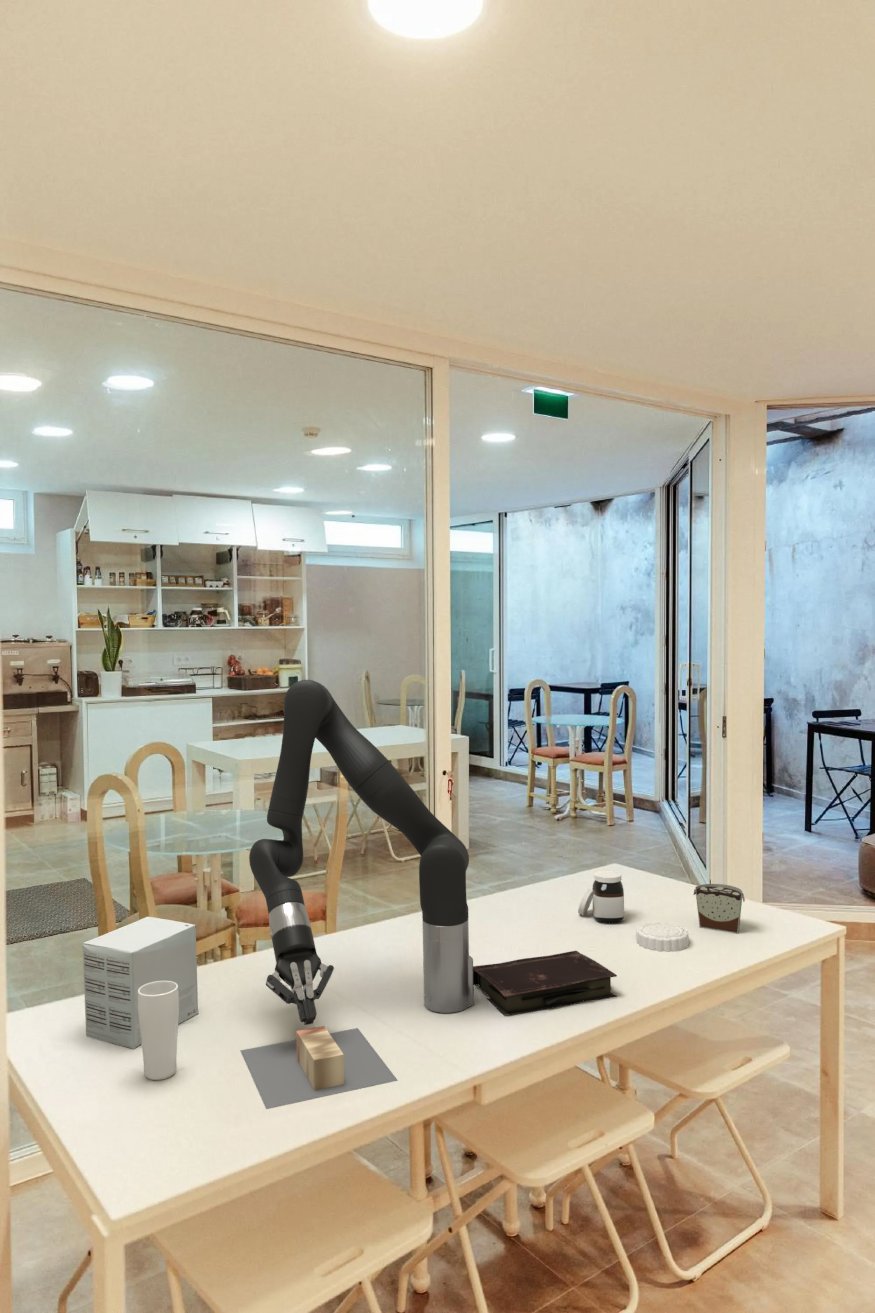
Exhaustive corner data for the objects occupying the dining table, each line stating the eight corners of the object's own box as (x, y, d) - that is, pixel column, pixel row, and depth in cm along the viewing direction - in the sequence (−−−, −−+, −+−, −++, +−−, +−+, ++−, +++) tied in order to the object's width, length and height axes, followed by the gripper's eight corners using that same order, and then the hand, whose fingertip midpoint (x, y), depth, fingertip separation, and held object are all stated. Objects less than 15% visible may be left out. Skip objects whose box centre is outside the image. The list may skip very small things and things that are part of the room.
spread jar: (627, 925, 232) (626, 879, 232) (581, 926, 232) (581, 880, 232) (618, 910, 244) (617, 866, 244) (575, 911, 244) (574, 867, 244)
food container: (750, 927, 229) (750, 887, 228) (744, 934, 223) (744, 893, 223) (700, 919, 235) (700, 880, 235) (693, 926, 230) (693, 886, 230)
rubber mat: (357, 1030, 175) (357, 1028, 175) (397, 1083, 154) (397, 1080, 154) (240, 1053, 166) (240, 1050, 166) (266, 1112, 146) (266, 1109, 146)
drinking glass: (158, 1087, 154) (155, 998, 154) (131, 1077, 158) (128, 991, 157) (189, 1070, 160) (186, 984, 160) (162, 1061, 164) (159, 977, 163)
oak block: (324, 1026, 164) (343, 1054, 153) (324, 1053, 164) (344, 1084, 153) (296, 1031, 162) (314, 1060, 151) (297, 1059, 162) (314, 1090, 151)
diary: (470, 987, 196) (469, 964, 196) (575, 970, 205) (574, 948, 205) (506, 1021, 179) (506, 995, 179) (619, 1000, 187) (619, 976, 187)
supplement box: (150, 1002, 190) (147, 915, 189) (200, 1014, 183) (197, 924, 183) (82, 1036, 174) (79, 941, 174) (134, 1050, 168) (131, 952, 168)
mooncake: (699, 945, 217) (699, 930, 217) (664, 956, 211) (664, 941, 211) (660, 932, 227) (660, 917, 227) (625, 942, 220) (625, 927, 220)
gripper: (258, 928, 169) (275, 1020, 158) (328, 918, 174) (349, 1007, 164) (253, 948, 174) (269, 1038, 164) (322, 937, 180) (341, 1024, 169)
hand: (309, 1022), depth 164 cm, fingers closed
